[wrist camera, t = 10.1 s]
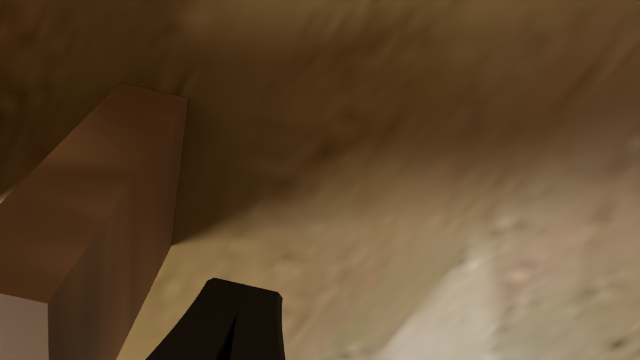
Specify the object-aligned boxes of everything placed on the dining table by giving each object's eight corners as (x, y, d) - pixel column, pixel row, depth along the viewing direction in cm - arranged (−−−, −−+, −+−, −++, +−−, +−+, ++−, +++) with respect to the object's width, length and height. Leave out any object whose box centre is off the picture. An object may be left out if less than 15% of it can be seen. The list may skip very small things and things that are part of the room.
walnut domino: (188, 98, 14) (47, 303, 8) (170, 246, 16) (51, 492, 10) (120, 82, 14) (-73, 277, 8) (112, 232, 16) (-43, 472, 10)
